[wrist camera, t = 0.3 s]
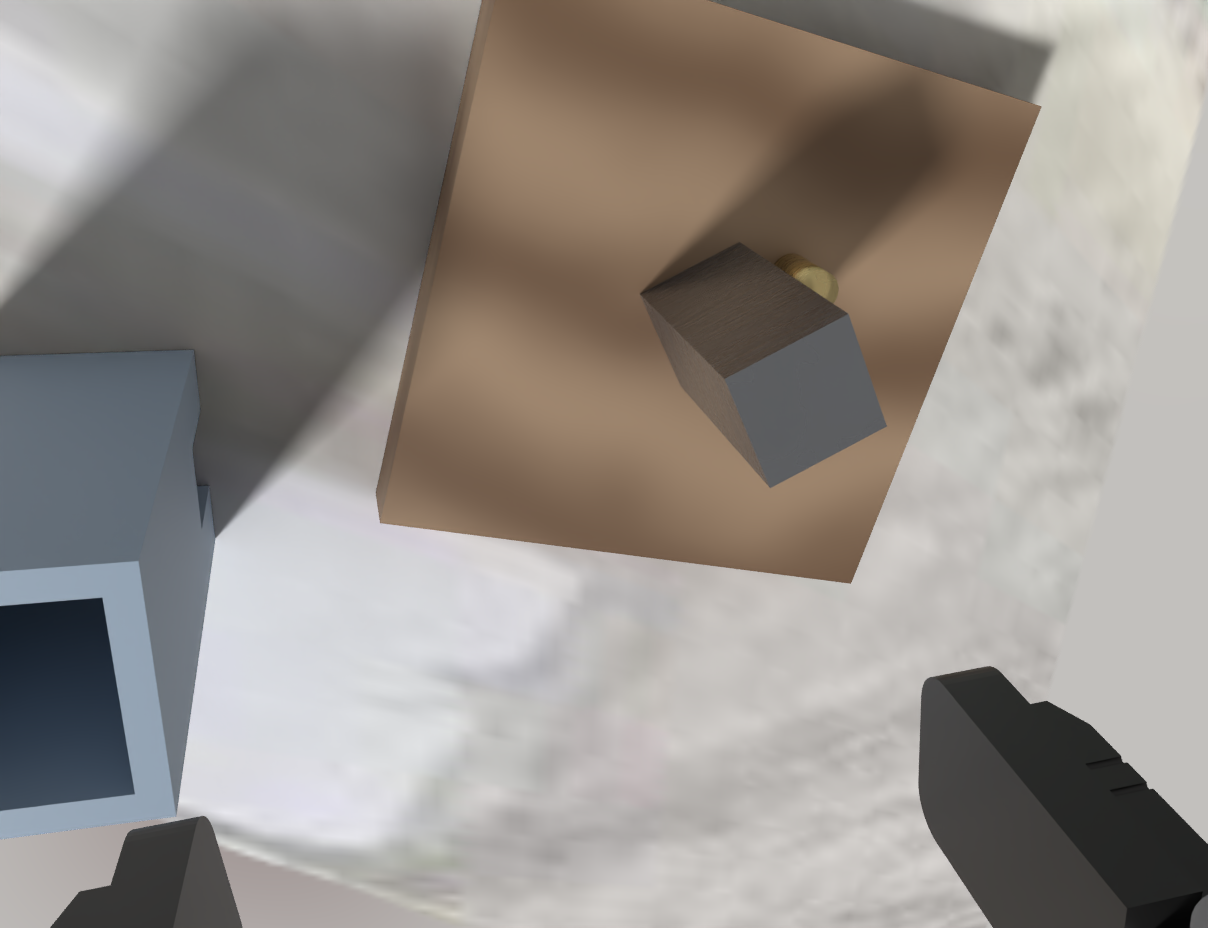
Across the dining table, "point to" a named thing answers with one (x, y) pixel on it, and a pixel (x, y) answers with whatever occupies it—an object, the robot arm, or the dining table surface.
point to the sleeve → (98, 586)
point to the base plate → (662, 250)
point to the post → (767, 358)
